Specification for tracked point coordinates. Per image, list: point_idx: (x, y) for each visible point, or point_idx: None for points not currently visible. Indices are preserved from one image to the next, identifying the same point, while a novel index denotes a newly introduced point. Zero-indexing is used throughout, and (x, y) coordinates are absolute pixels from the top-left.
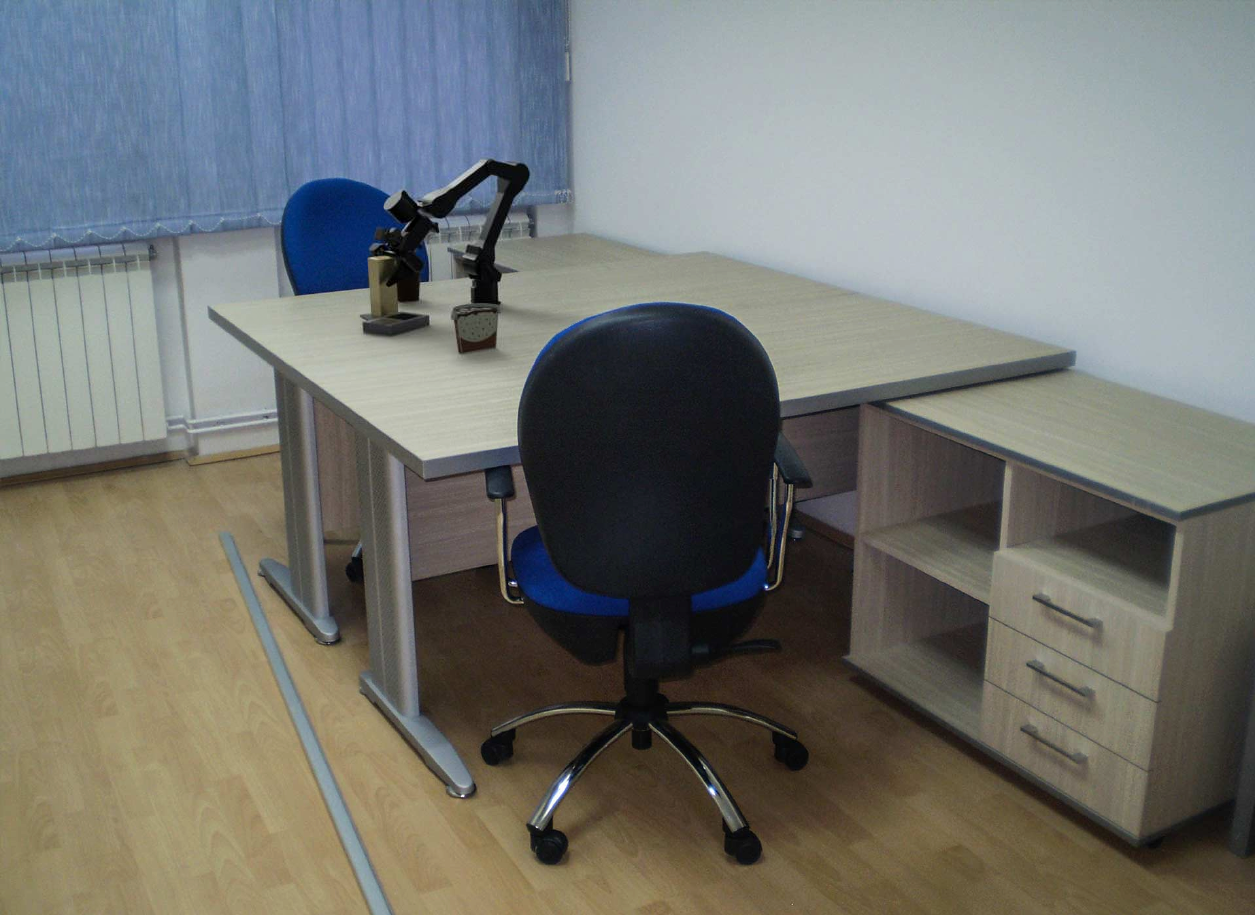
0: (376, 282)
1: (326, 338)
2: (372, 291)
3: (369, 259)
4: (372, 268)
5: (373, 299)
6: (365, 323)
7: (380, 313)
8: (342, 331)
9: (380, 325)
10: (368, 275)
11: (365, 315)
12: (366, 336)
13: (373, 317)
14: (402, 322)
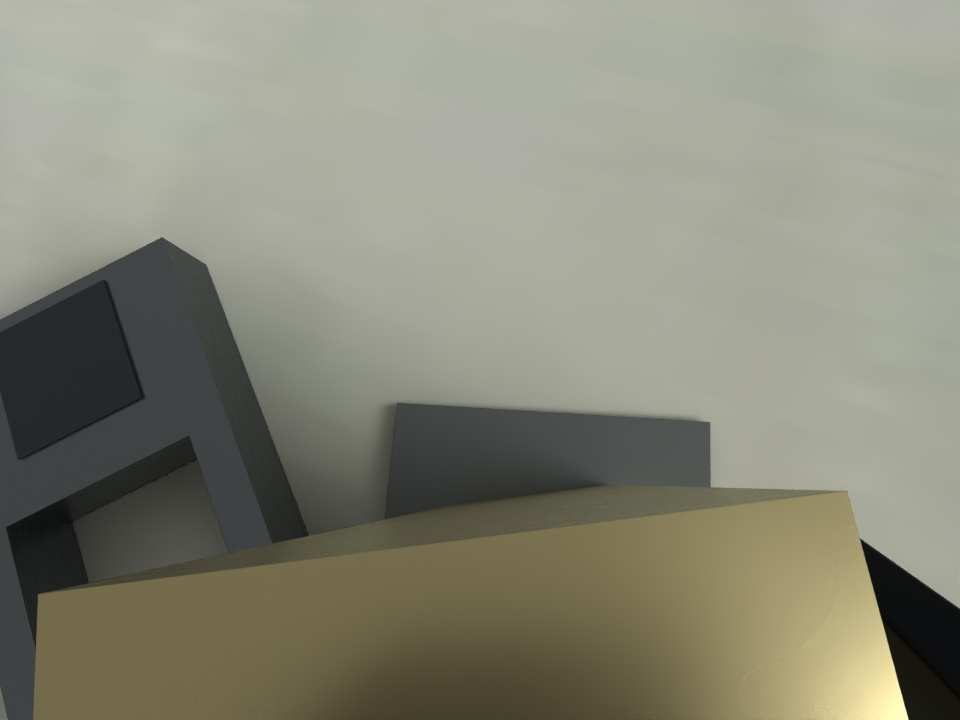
0: (426, 516)
1: (193, 42)
2: (567, 494)
3: (674, 508)
4: (509, 516)
5: (556, 494)
6: (142, 253)
7: (448, 506)
8: (300, 164)
9: (16, 316)
10: (881, 560)
11: (656, 452)
12: (93, 244)
13: (546, 478)
14: None
